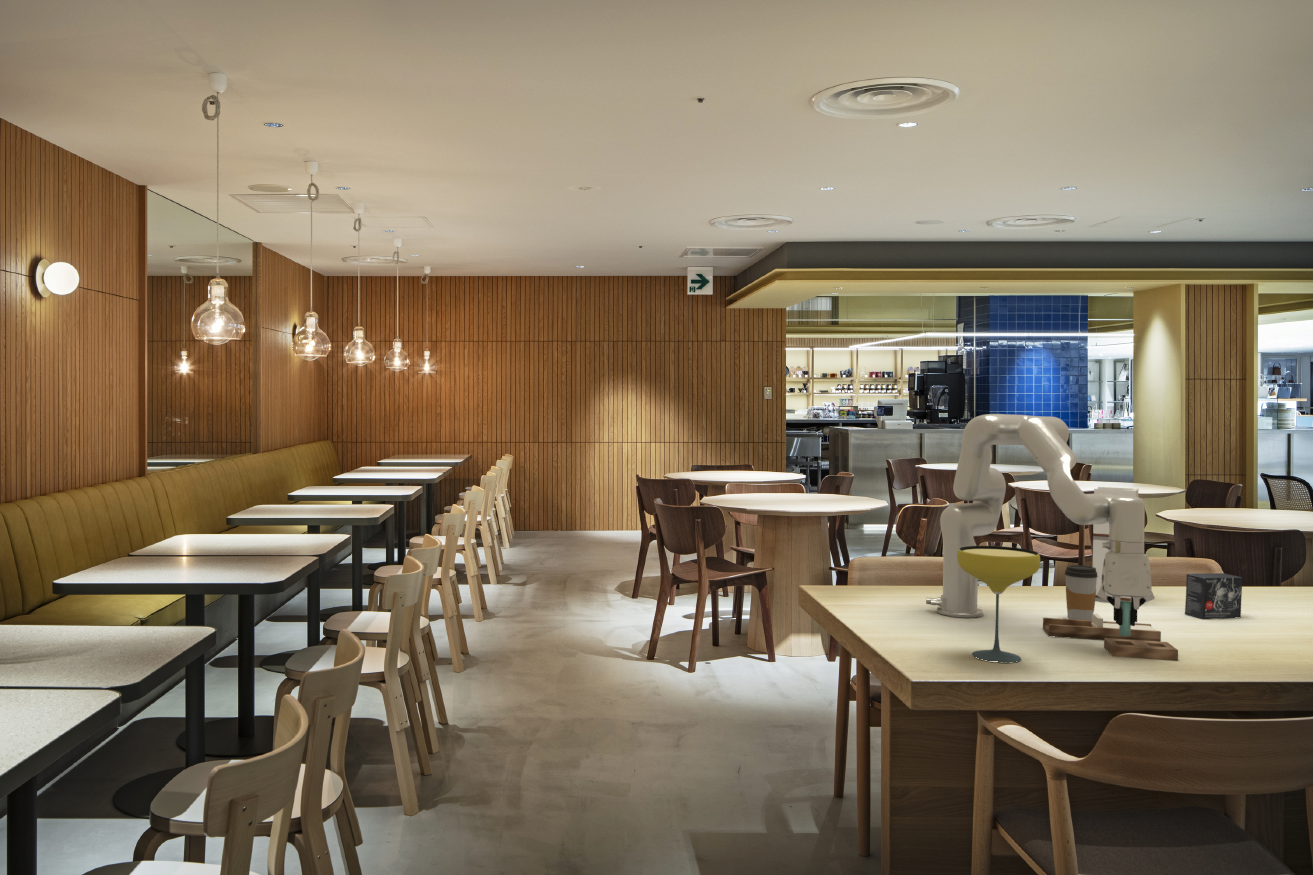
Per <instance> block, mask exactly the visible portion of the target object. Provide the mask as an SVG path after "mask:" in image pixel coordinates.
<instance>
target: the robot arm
mask: <svg viewBox="0 0 1313 875" xmlns="http://www.w3.org/2000/svg"><path fill="white" fill-rule="evenodd" d="M964 427H965V428H964V429H963V433H962V439H961V440H962V444H961V450H960V454H959V457H958V458H959V459H958V463H957V467H956V472H955V474H954V481H953V488H952V489H953V493H954V496H956V498H958V499H959V500H962V501H965V503H955V504H950V505H949V506H947V507H946V508H945V509H943V511H942V513H941V514H940V520H939V524H940V529H941V535H942V544H943V546H942V547H943V551H942V552H943V553H942V554H943V555H942V556H943V558H942V560H943V561H942V562H943V564H942V565H943V566H942V567H943V568H942V594H940V596H938V597H936V598H934V597H925V604H926V605H930V606H937V608H936V612H937V613H938V614H940V615H943V616H947V617H952V618H964V619H965V618H966V619H968V618H973V619H974V618H979V617H982V616H984V611H983V610H982V609H980V608H979V607H978V594H979V593H978V591H979V590H978V589H979V587H978V585H979V584H978V583H979V579H977V578H975V577H974V576H972V575H970V574H969V573H967V572H966V571H964V570H963V569H962V568H961V567H960V566H959V564H958V559H957V555H958V550H959V548H961V547H966V546H977V544H976V541H975V539H974V537H980V536H987V535H989V534H991V533H993V532H994V531H995V530H996V528H997V526H998V524H999V520H1000V517H1001V511H1002V508H1003V504H1004V499H1005V495H1006V490H1007V489H1006V488H1007V485H1006V484H1007V483H1006V480H1005V476H1004V475H1003V473H1002V472H1001V471H1000V470H999V469H997V468H994V467H991V463H992V460H993V452H992V448H991V445H992V446H993V445H995V446H996V445H997V446H998V445H999V446H1023V447H1024V449H1026V450H1027V452H1029V455H1031V457H1032V458H1033V459H1034V460H1035V461H1036V463H1037V464H1038V466H1040V468H1041V469H1042V471H1043V472H1044V473H1045V474H1046V477H1047V479H1046V480H1047V486H1048V490H1049V494H1050V496H1051V498H1052V500H1053V501H1054V503H1055V505H1057V507H1058V508H1059V510H1061V512H1062V513H1063V514H1064V515H1065V517H1067V519H1069V520H1070V521H1071V522H1072V523H1074V524H1077V525H1080V526H1088V525H1089V526H1090V525H1093V524H1106V523H1109V540H1108V541H1107V542H1106V543H1102V547H1103V548H1106V549H1108V550H1109V552H1106V554H1105V558H1104V564H1103V571H1102V584H1101V587H1100V589H1099V591H1098V593H1097V595H1098V596H1099V597H1101V598H1103V599H1105V600H1107V601H1108V602H1109V603H1108V604H1110V605H1111V606H1112V607H1113V622H1116V623H1117V624H1118V625H1122V614H1123V610H1122V609H1121V606H1120V597H1121V596H1126V597H1131V624H1130V625H1131V626H1135V623H1138V610H1139V609H1140V607H1142V606H1143V605H1144V604H1145V603H1147V602H1151V601H1153V600H1155V598H1156V597H1155V594H1154V593H1153V590H1152V588H1153V587H1152V586H1153V585H1152V574H1151V571H1152V570H1151V565H1150V558H1149V555H1148V554H1145V516H1146V515H1145V514H1146V513H1145V511H1146V509H1145V506H1146V505H1145V501H1144V500H1143V499H1142V498H1141V497H1139V496H1138V497H1128V496H1115V495H1110V494H1103V493H1101V494H1094V493H1085V492H1083V490H1082V489H1081V488H1080V486H1079V485H1078V484H1077V483H1076V481H1075V480H1074V478H1073V477H1072V473H1071V470H1072V469H1073V468H1074V467H1075V465H1076V464H1077V462H1078V457H1077V455H1076V453H1075V452H1074V451H1073V450H1072V449H1071V448H1070V446H1069V445H1068V444H1067V442H1068V440H1069V437H1070V432H1069V426H1068V425H1067V424H1066V422H1065V421H1063V420H1062V419H1061V418H1059V417H1056V416H1044V415H1043V416H1039V415H1028V414H1027V415H1025V414H1008V413H1007V414H1005V413H1004V414H1003V413H989V414H981V415H978V416H976V417H973V418H972V419H971V420H969V421H968V423H967V424H966V425H965V426H964ZM966 501H968V503H966ZM1106 593H1107V594H1109V595H1112V597H1111V596H1109V595H1107V594H1106Z"/></svg>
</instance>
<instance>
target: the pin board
mask: <svg viewBox="0 0 1313 875" xmlns="http://www.w3.org/2000/svg"><path fill="white" fill-rule="evenodd" d="M1103 648H1104V649H1105V650H1106V651H1107V652H1108V653H1109V654H1110V655H1111V656H1112V657H1122V658H1135V659H1138V658H1139V659H1151V660H1164V661H1165V660H1169V661H1178V660H1179V650H1178V649H1177V648H1176V647H1175V646H1174V645H1172V644H1171V643H1169V642H1168V641H1161V642H1159V641H1143V640H1127V639H1112V638H1104V640H1103Z"/></svg>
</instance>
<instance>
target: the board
mask: <svg viewBox="0 0 1313 875" xmlns="http://www.w3.org/2000/svg"><path fill="white" fill-rule="evenodd" d="M1091 622H1092V621H1091V620H1075V619H1069V618H1053V617H1042V630H1043V629H1044V630H1043V632H1045V633H1046V634H1047V636H1048V637H1049V636H1055V637H1054V638H1064V637H1070V638H1069V639H1083V640H1095V641H1096V640H1098V641H1104V638H1112V639H1127V640H1143V641H1159V642H1162V631H1161V630H1156V631H1152V630H1136V629H1131V636H1121V635H1119V628H1103V627H1092V626H1091ZM1103 623H1112V624H1117V623H1116V621H1107V620H1105V621H1104V620H1103ZM1135 625H1146V626H1151V627H1152V624H1151V623H1138V622H1135Z"/></svg>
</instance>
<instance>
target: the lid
mask: <svg viewBox="0 0 1313 875" xmlns="http://www.w3.org/2000/svg"><path fill="white" fill-rule="evenodd" d="M1103 621H1104V618H1103V617H1102V616H1101V615H1099V614H1098V613H1096V612H1094V613H1092V622H1091V626H1092V627H1103V628H1119V625H1118V624H1112V623H1103ZM1131 629H1136V630H1152V631H1157V629H1155V628H1154V627H1153V626H1152V625H1151V626H1146V625H1135V626H1131Z"/></svg>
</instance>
